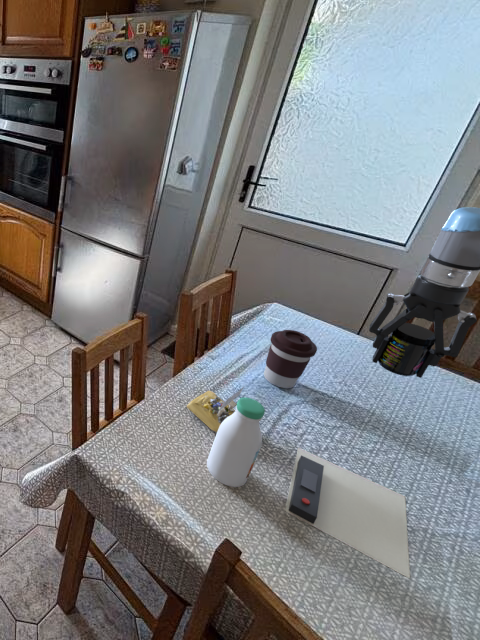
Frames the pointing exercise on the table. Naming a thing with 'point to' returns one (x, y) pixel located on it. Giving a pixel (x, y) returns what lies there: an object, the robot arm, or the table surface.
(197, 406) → the yellow snack bag
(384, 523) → the scale
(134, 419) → the table surface
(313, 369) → the table surface
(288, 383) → the coffee cup
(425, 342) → the supplement container
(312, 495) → the remote
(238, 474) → the milk bottle
